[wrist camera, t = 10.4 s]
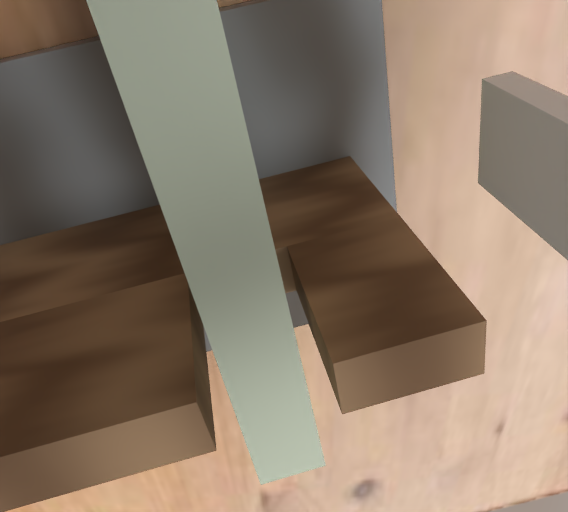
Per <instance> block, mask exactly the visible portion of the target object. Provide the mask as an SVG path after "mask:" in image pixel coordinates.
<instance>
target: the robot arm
mask: <svg viewBox="0 0 568 512" xmlns="http://www.w3.org/2000/svg"><path fill="white" fill-rule="evenodd" d="M478 183H479V184H480V185H481V186H482V187H483V188H485V189H486V190H487V191H488V192H489V193H490V194H491V195H493V196H494V197H495V198H496V199H497V200H498V201H500V202H501V203H502V204H503V205H504V206H505V207H507V208H508V209H509V210H510V211H511V212H512V213H514V214H515V215H516V216H517V217H518V218H519V219H520V220H522V221H523V222H524V223H525V224H526V225H527V226H529V227H530V228H531V229H532V230H533V231H534V232H536V233H537V234H538V235H539V236H540V237H541V238H543V239H544V240H545V241H546V242H547V243H548V244H550V245H551V246H552V247H553V248H554V249H555V250H556V251H558V252H559V253H560V254H561V255H562V256H563V257H565V258H566V259H567V260H568V96H566V95H564V94H562V93H560V92H557V91H555V90H553V89H551V88H549V87H546V86H544V85H542V84H540V83H538V82H535V81H533V80H531V79H529V78H527V77H524V76H522V75H520V74H518V73H516V72H513V71H512V72H508V73H504V74H500V75H496V76H492V77H488V78H484V79H482V95H481V121H480V146H479V172H478Z"/></svg>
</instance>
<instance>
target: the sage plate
mask: <svg viewBox="0 0 568 512" xmlns="http://www.w3.org/2000/svg"><path fill="white" fill-rule="evenodd" d="M86 1H87V4H88V7H89V9H90V12H91V15H92V18H93V21H94V23H95V26H96V29H97V32H98V34H99V37H100V40H101V43H102V46H103V48H104V51H105V54H106V57H107V59H108V62H109V65H110V68H111V70H112V73H113V76H114V79H115V82H116V84H117V87H118V90H119V93H120V95H121V98H122V101H123V104H124V107H125V109H126V112H127V115H128V118H129V120H130V123H131V126H132V129H133V131H134V134H135V137H136V140H137V143H138V145H139V148H140V151H141V154H142V156H143V159H144V162H145V165H146V168H147V170H148V173H149V176H150V179H151V181H152V184H153V187H154V190H155V192H156V195H157V198H158V201H159V204H160V206H161V209H162V212H163V215H164V217H165V220H166V223H167V226H168V229H169V231H170V234H171V237H172V240H173V242H174V245H175V248H176V251H177V253H178V256H179V259H180V262H181V265H182V267H183V270H184V273H185V276H186V278H187V281H188V284H189V287H190V289H191V292H192V295H193V298H194V301H195V303H196V306H197V309H198V312H199V314H200V317H201V320H202V323H203V326H204V328H205V331H206V334H207V337H208V339H209V342H210V345H211V348H212V350H213V353H214V356H215V359H216V362H217V364H218V367H219V370H220V373H221V375H222V378H223V381H224V384H225V387H226V389H227V392H228V395H229V398H230V400H231V403H232V406H233V409H234V411H235V414H236V417H237V420H238V423H239V425H240V428H241V431H242V434H243V436H244V439H245V442H246V445H247V448H248V450H249V453H250V456H251V459H252V461H253V464H254V467H255V470H256V472H257V475H258V478H259V481H260V484H261V485H262V484H265V483H269V482H272V481H275V480H279V479H282V478H285V477H289V476H292V475H296V474H299V473H302V472H306V471H309V470H313V469H316V468H319V467H323V466H326V465H325V461H324V456H323V452H322V448H321V444H320V439H319V435H318V431H317V426H316V422H315V418H314V414H313V409H312V405H311V401H310V396H309V392H308V388H307V384H306V379H305V375H304V371H303V367H302V362H301V358H300V354H299V349H298V345H297V341H296V337H295V332H294V328H293V324H292V320H291V315H290V311H289V307H288V302H287V298H286V294H285V290H284V285H283V281H282V277H281V272H280V268H279V264H278V260H277V255H276V251H275V247H274V243H273V238H272V234H271V230H270V225H269V221H268V217H267V213H266V208H265V204H264V200H263V195H262V191H261V187H260V183H259V178H258V174H257V170H256V166H255V161H254V157H253V153H252V148H251V144H250V140H249V136H248V131H247V127H246V123H245V119H244V114H243V110H242V106H241V101H240V97H239V93H238V89H237V84H236V80H235V76H234V71H233V67H232V63H231V59H230V54H229V50H228V46H227V42H226V37H225V33H224V29H223V24H222V20H221V16H220V12H219V7H218V3H217V0H86Z"/></svg>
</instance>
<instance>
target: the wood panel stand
mask: <svg viewBox="0 0 568 512" xmlns="http://www.w3.org/2000/svg"><path fill="white" fill-rule="evenodd" d="M219 12H220V16H221V20H222V24H223V29H224V33H225V37H226V42H227V46H228V50H229V54H230V59H231V63H232V67H233V71H234V76H235V80H236V84H237V89H238V93H239V97H240V101H241V106H242V110H243V114H244V119H245V123H246V127H247V131H248V136H249V140H250V144H251V148H252V153H253V157H254V161H255V166H256V170H257V174H258V178H259V183H260V187H261V191H262V195H263V200H264V204H265V208H266V213H267V217H268V221H269V225H270V230H271V234H272V238H273V243H274V247H275V251H276V255H277V260H278V264H279V268H280V272H281V277H282V281H283V285H284V290H285V294H286V298H287V302H288V307H289V311H290V315H291V320H292V324H293V328H294V327H298V326H302V325H305V324H309V326H310V329H311V331H312V334H313V337H314V339H315V342H316V345H317V347H318V350H319V353H320V355H321V358H322V361H323V364H324V366H325V369H326V372H327V374H328V377H329V380H330V382H331V385H332V388H333V391H334V393H335V396H336V399H337V401H338V404H339V407H340V409H341V412H342V414H345V413H348V412H352V411H355V410H359V409H362V408H366V407H369V406H373V405H376V404H380V403H383V402H387V401H390V400H394V399H397V398H400V397H404V396H407V395H411V394H414V393H418V392H421V391H425V390H428V389H432V388H435V387H439V386H442V385H446V384H449V383H453V382H456V381H460V380H463V379H466V378H470V377H473V376H477V375H480V374H484V367H485V344H486V319H485V318H484V317H483V316H482V315H481V313H480V312H479V311H478V310H477V309H476V307H475V306H474V305H473V304H472V303H471V301H470V300H469V299H468V298H467V296H466V295H465V294H464V293H463V292H462V290H461V289H460V288H459V287H458V286H457V284H456V283H455V282H454V281H453V280H452V278H451V277H450V276H449V275H448V274H447V272H446V271H445V270H444V269H443V268H442V266H441V265H440V264H439V263H438V261H437V260H436V259H435V258H434V257H433V255H432V254H431V253H430V252H429V251H428V249H427V248H426V247H425V246H424V245H423V243H422V242H421V241H420V240H419V239H418V237H417V236H416V235H415V234H414V233H413V231H412V230H411V229H410V228H409V226H408V225H407V224H406V223H405V222H404V220H403V219H402V218H401V217H400V216H399V214H398V213H397V208H396V194H395V180H394V166H393V152H392V138H391V124H390V110H389V96H388V82H387V68H386V54H385V40H384V26H383V12H382V0H252V1H248V2H243V3H239V4H235V5H230V6H226V7H222V8H219ZM211 350H212V348H211V345H210V342H209V339H208V337H207V334H206V331H205V328H204V326H203V323H202V320H201V317H200V314H199V312H198V309H197V306H196V303H195V301H194V298H193V295H192V292H191V289H190V287H189V284H188V281H187V278H186V276H185V273H184V270H183V267H182V265H181V262H180V259H179V256H178V253H177V251H176V248H175V245H174V242H173V240H172V237H171V234H170V231H169V229H168V226H167V223H166V220H165V217H164V215H163V212H162V209H161V206H160V204H159V201H158V198H157V195H156V192H155V190H154V187H153V184H152V181H151V179H150V176H149V173H148V170H147V168H146V165H145V162H144V159H143V156H142V154H141V151H140V148H139V145H138V143H137V140H136V137H135V134H134V131H133V129H132V126H131V123H130V120H129V118H128V115H127V112H126V109H125V107H124V104H123V101H122V98H121V95H120V93H119V90H118V87H117V84H116V82H115V79H114V76H113V73H112V70H111V68H110V65H109V62H108V59H107V57H106V54H105V51H104V48H103V46H102V43H101V40H100V37H99V36H97V37H93V38H89V39H84V40H80V41H76V42H71V43H67V44H63V45H58V46H54V47H50V48H45V49H41V50H37V51H33V52H28V53H24V54H20V55H15V56H11V57H7V58H2V59H0V512H4V511H8V510H11V509H15V508H18V507H22V506H25V505H29V504H32V503H36V502H39V501H43V500H46V499H50V498H53V497H57V496H60V495H64V494H67V493H70V492H74V491H77V490H81V489H84V488H88V487H91V486H95V485H98V484H102V483H105V482H109V481H112V480H116V479H119V478H123V477H126V476H130V475H133V474H136V473H140V472H143V471H147V470H150V469H154V468H157V467H161V466H164V465H168V464H171V463H175V462H178V461H182V460H185V459H189V458H192V457H196V456H199V455H202V454H206V453H209V452H213V451H216V442H215V432H214V422H213V413H212V403H211V393H210V383H209V374H208V364H207V354H206V352H207V351H211Z"/></svg>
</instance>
